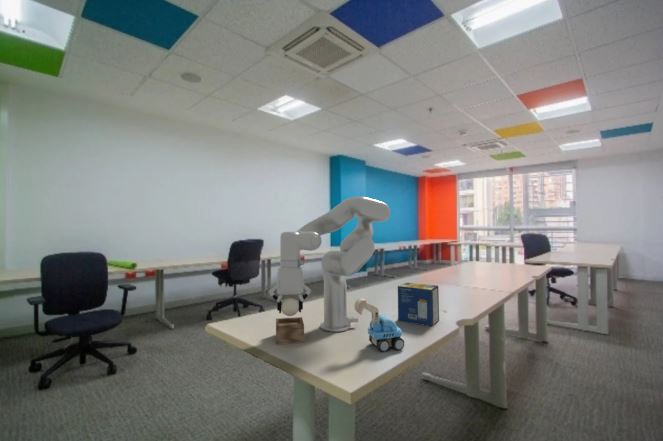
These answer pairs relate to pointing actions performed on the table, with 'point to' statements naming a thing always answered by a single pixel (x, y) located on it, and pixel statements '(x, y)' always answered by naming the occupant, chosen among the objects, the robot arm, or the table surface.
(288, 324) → the walnut block
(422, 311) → the protein box
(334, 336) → the table surface
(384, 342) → the toy excavator
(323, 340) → the table surface
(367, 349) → the table surface
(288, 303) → the steamed bun
